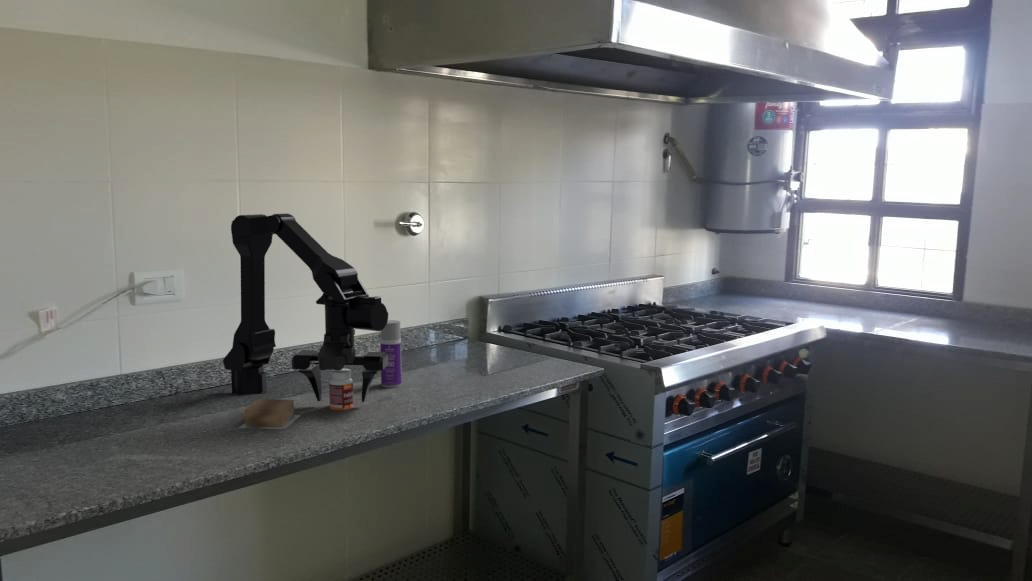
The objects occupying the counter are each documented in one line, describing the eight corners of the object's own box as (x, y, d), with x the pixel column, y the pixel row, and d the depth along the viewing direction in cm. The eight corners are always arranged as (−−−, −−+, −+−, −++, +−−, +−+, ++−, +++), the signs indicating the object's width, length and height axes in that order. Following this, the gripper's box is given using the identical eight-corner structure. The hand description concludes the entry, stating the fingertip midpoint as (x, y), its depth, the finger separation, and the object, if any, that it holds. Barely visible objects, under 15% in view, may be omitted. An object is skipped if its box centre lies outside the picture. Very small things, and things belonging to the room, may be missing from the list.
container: (384, 388, 181) (383, 324, 179) (378, 384, 185) (377, 320, 183) (404, 386, 183) (403, 322, 182) (397, 381, 188) (396, 319, 186)
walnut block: (245, 426, 150) (244, 408, 150) (259, 415, 157) (258, 399, 157) (281, 427, 150) (281, 409, 149) (294, 416, 157) (293, 399, 156)
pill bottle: (347, 413, 161) (346, 373, 160) (326, 412, 162) (324, 372, 161) (357, 407, 166) (356, 368, 165) (335, 406, 167) (334, 367, 166)
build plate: (232, 432, 149) (232, 428, 149) (256, 413, 161) (256, 410, 161) (321, 433, 148) (321, 430, 148) (338, 415, 160) (338, 412, 160)
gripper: (281, 333, 154) (283, 411, 156) (376, 334, 153) (377, 413, 155) (299, 323, 165) (301, 396, 167) (388, 324, 164) (389, 398, 166)
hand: (341, 401), depth 164 cm, fingers open, 9 cm apart
